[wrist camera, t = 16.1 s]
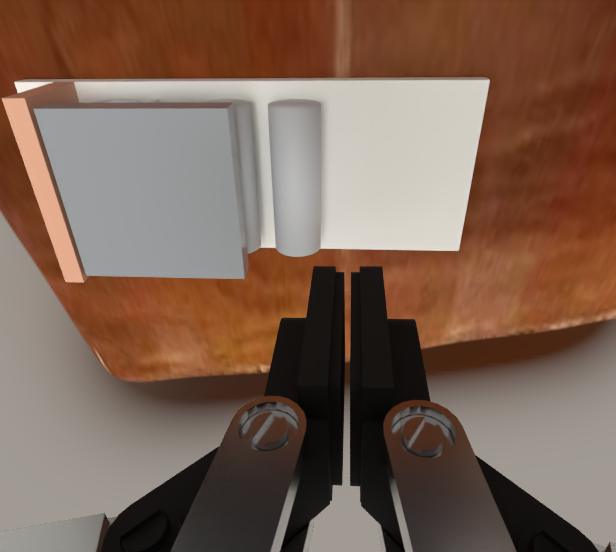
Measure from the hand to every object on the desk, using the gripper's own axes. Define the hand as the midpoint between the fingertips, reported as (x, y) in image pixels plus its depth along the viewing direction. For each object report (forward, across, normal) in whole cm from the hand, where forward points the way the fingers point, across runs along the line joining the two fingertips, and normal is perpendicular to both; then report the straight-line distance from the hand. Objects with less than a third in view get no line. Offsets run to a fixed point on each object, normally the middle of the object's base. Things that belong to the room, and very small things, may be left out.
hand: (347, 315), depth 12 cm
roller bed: (+20, +6, +3) cm, 21 cm away
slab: (+15, +11, +3) cm, 19 cm away
